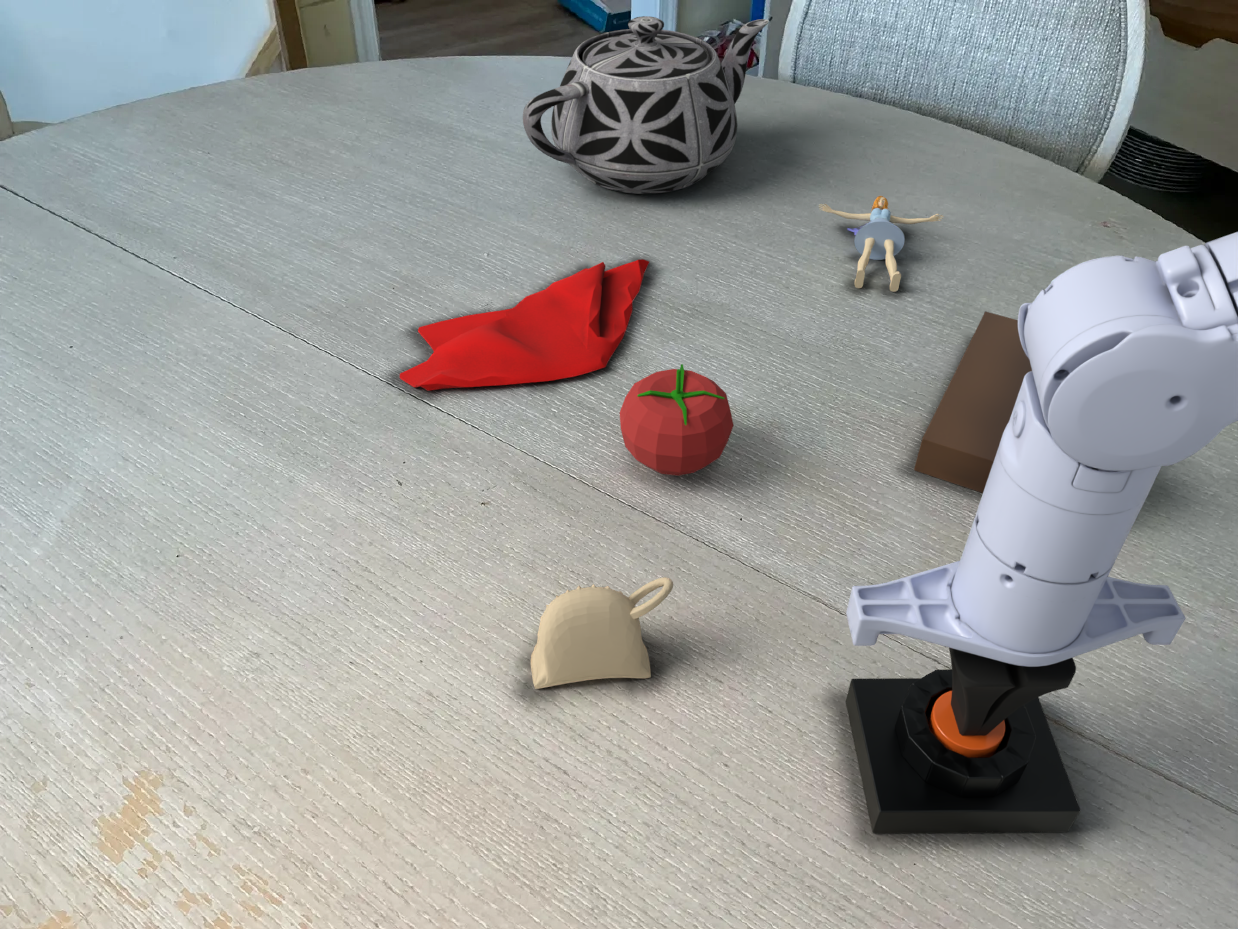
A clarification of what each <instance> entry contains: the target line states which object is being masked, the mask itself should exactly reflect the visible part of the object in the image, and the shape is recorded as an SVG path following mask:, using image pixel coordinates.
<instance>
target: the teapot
mask: <svg viewBox="0 0 1238 929" xmlns="http://www.w3.org/2000/svg"><path fill="white" fill-rule="evenodd" d="M768 24H769V19H765V18H762V19H756V20H752V21H751V20H750V21H749V22H746V23H744V24H743V25H742V27H740V29H739V30H738V31H737V32H736V33H735V35H734V36H733V39H732V41H731V43H730V45H729V47H728V49H727V51H726V53H725V56H724V58H723V59H722V61H720V58H719V56H718V53H717V52H716V50H715V49H714V48H713V47H712V45H711V44H709V43H708V42H706V41H704V40H703V39H700V38H699V37H697V36H695V35H692V34H688V33H684V32H680V31H674V30H669V29H664V27H665V22H664V21H663V20H662V19H660V18H659V17H656V16H648V15H647V16H646V15H643V16H636V17H634V18H631V19H630V20H629V21H628V23H627V26H628V28H629V29H628V28H627V29H620V30H613V31H609V32H603V33H600V34H598V35H594V36H592V37H590V38H588V39H586V40H584V41H583V42H581V44H579V45H578V46H577V48H575V50H574V52H573V54H572V56H571V59H570V61H569V63H568V66H567V68H566V70H565V71H564V74H563V77H562V79H561V82H560V83H559V86H558V87H555V88H553V89H549V90H547V91H545V92H543V93H540V94H538V95H536V96H534V97H533V98H531V99H530V100H529V101H528V102H527V104H525V106H524V108H523V112H522V124H523V129H524V131H525V134H526V136H527V138H528V139H529V141H530V142H531V144H532V145H533V146H534V147H535V148H536V149H537V150H538V151H539V152H541V153H542V154H544V155H546V156H548V157H550V158H552V159H554V160H555V161H559V162H561V163H564V164H569V166H570V167H572V168H573V169H574V170H575V171H576V172H578V173H579V174H581V176H582V177H584V178H585V180H588V181H589V182H591V183H592V184H594V185H596V186H599V187H602V188H604V189H606V190H607V189H608V190H611V191H615V192H620V193H626V194H637V195H651V194H652V195H653V194H662V193H663V194H664V193H669V192H674V191H678V190H682V189H685V188H687V187H690V186H693V185H694V184H696V183H698V182H699V181H701V180H702V179H704V178H705V177H706V176H707V175H709V174H710V173H712V172H714V170H716V169H717V168H718V167H719V166H720V165H722V163H723V162H724V161H725V160H726V159H727V157H728V156H729V155H730V154H731V152H732V150H733V148H734V146H735V143H736V140H737V136H738V135H737V134H738V119H737V118H738V117H737V110H736V105H735V104H736V103H737V102H738V100H739V99H740V96H741V93H742V91H743V88H744V84H745V79H746V73H747V68H748V61H749V55H750V52H751V49H752V46H753V43H754V42H755V39H756V37H757V36H758V34H759V33H760V32H761V31H762V30H763V29H764V28H765V27H766V26H767V25H768ZM551 108H552V113H551V121H550V122H551V123H550V126H551V127H550V130H551V132H550V133H551V137H552V141H553V143H552V142H551V141H550V140H549V139H548V137H547V136H546V134H545V132H544V128H543V126H542V116H543V115H544V114H545V112H547V111H548V110H550V109H551Z"/></svg>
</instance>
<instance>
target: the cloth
mask: <svg viewBox="0 0 1238 929" xmlns="http://www.w3.org/2000/svg"><path fill="white" fill-rule="evenodd" d="M649 264H650V261H649V260H648V259H647V260H646V259H644V258H641V259H640V258H639V259H637V260H634V261H631V262H628V263H624V264H621V265H619V266H618V265H617V266H616V267H613V268H610V269H607V270H606V264H605V262H604V261H602V262H600V263H597V264H595V265H593V266H591V267H589V268H583V269H581V270H580V271H577V272H576V273H574V274H572V275H570V276H567V277H563V278H562V279H559V280H556V281H554V282H552V283H551V284H550V285H549V286H547V287H546V288H544V289H543V290H539V291H537V292H534V293H532V294H529V295H526V296H525V297H524V298H523V299H521V300H520V301H519V302H518V303H517V304H516V305H515V306H514V307H511V308H507V309H501V310H495V311H487V312H480V313H475V314H474V313H473V314H468V315H467V314H466V315H464V316H459V317H458V316H457V317H454V318H449V319H445V320H441V321H437V322H433V323H430V324H426V325H422V326H419V327H418V329H417V332H418V333H419V335H420V336H421V337H422V338H423V339H424V341H426V343H427V344H428V345H429V347H430V348H431V349H432V351H433V353H432V354H431V355H430V356H429V357H428V359H427V360H426V361H423V362H421V363H419V364H416V365H415V366H413V367H410V368H408V369H407V370H405V371H403V372H400V373H399V379H400V380H401V381H403V382H404V383H406V384H408V385H409V386H410V387H413V388H419V387H420V388H422V389H424V390H426V391H427V392H429V391H436V390H443V389H455V388H456V389H457V388H461V389H462V388H474V387H476V388H477V387H490V386H491V387H492V386H507V385H509V386H510V385H518V384H519V385H520V384H529V383H540V382H541V383H542V382H549V381H556V380H562V379H567V378H573V377H577V376H582V375H584V374H588V373H592V372H594V371H597V370H602V369H604V368H606V367H607V365H608V363H609V361H610V359H611V357H613V354H614V353H615V351H616V350H617V348H618V347H619V345H620V343H621V342H622V340H623V339H624V336H625V334H626V331H627V329H628V325H629V322H630V319H631V316H632V313H633V301H634V300H635V298H636V297H637V296H638V294H639V292H641V291H640V290H641V287H642V283H643V279H644V276H645V272H646V270H647V268H648V266H649Z"/></svg>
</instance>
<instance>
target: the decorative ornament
mask: <svg viewBox="0 0 1238 929" xmlns="http://www.w3.org/2000/svg"><path fill="white" fill-rule="evenodd" d="M659 588H661V589H660V590H659V592H658V593H656V594H655V595H654V596H653V597H652V598H650V599H649V600H647V601H646V602H644V603H643V604H640V605H638V606H636V605H637V604H638V603H639V602H640V601H641V600H642V599H643V598H645V597H646V596H648V595H649V594H650V593H652V592H653V591H656V590H657V589H659ZM673 588H674V581H673V580H672V579H671V578H670V577H666V576H665V577H659V578H656V579H653V580H651V581H649V582H647V583H645V584H644V585H642V586H640V587H639V588H638V589H637V590H635V591H634V592H632V593H631V594H630V595H629V596H627V595H625V594H624V593H623V592H622V590H619V591H617V590H615V589H613V588H611V587H610V586H609V585H607V586H605V587H603V586H596V585H595V584H592V585H590V586H586V587H582V586H580V585H578V586H577V587H576V588H575V589H572V590H571V589H570V590H569V589H566V591H565V592H563V593H561V594H559V595H557V594H556V595H555V598H554V599H552V600H551V601H550V602H549V604H546V605H545V606H546V608H545V609H544V611H543V613H542V614H541V616H540V618H539V619H540V621H539V626H538V631H537V634H536V635H537V641H536V644H535V645H534V648H533V651H532V652H531V655H530V671H531V677H532V683H533V686H534V689H535V690H538V689H543V688H545V689H546V688H548V687H554V686H555V687H556V686H561V685H565V684H572V683H578V682H584V681H591V680H592V681H593V680H600V679H601V680H603V679H650V678H651V677H652V675H651V674H652V673H651V663H650V657H649V652H648V649H647V646H646V645H645V643H644V641H643V638H642V626H641V620H640V618H641V617H643V616H645V615H647V614H648V613H650V612H651V611H653V610H654V609H656V608H657V607H658V606H659V605H660V604H661V603H663V601H664V600H666V599H667V598H668V596H669V595H670V593H671V592H672V590H673Z"/></svg>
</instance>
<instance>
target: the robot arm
mask: <svg viewBox="0 0 1238 929" xmlns="http://www.w3.org/2000/svg"><path fill="white" fill-rule="evenodd" d="M1017 320H1018V332H1019V337H1020V341H1021V344H1022V347H1023V350H1024V352H1025V353H1026V355H1027V357H1028V358H1029V360H1030V364H1031V368H1032V371H1030V372H1028V373H1027V374H1026V375H1025V376H1024V379H1023V382H1022V385H1021V388H1020V391H1019V394H1018V397H1017V400H1016V403H1015V406H1014V409H1013V411H1012V414H1011V417H1010V420H1009V422H1008V424H1007V426H1006V428H1005V430H1004V432H1003V435H1002V438H1001V441H1000V444H999V447H998V450H997V453H996V456H995V459H994V462H993V465H992V468H991V471H990V474H989V477H988V480H987V483H986V486H985V489H984V491H983V493H981V494H982V495H981V498H980V501H979V503H978V506H977V509H976V513H975V515H974V518H973V522H972V524H971V526H970V531H969V533H968V536H967V539H966V541H965V545H964V547H963V551H962V554H961V557H960V560H956V561H953V562H951V563H947V564H944V565H940V566H937V567H934V568H930V569H927V570H924V571H920V572H917V573H913V574H911V575H907V576H904V577H901V578H898V579H894V580H891V581H887V582H883V583H876V584H869V585H868V584H867V585H853V586H851V591H850V595H849V599H848V603H847V606H846V612H845V614H846V618H847V623H848V624H847V625H848V628H849V633H850V636H851V641H852V645H853V646H858V647H860V646H861V647H864V646H865V647H867V646H869V647H871V646H875V645H876V644H877V641H878V638H879V636H880V635H901V636H905V637H908V638H912V639H915V640H919V641H923V642H927V643H931V644H934V645H937V646H941V647H945V648H948V650H949V656H950V663H951V669H952V697H951V707H952V710H953V713H954V717H955V720H956V723H957V727H958V730H959V734H961V735H962V736H986V735H987V734H988V733H990V732H991V731H992V730H993V729H994V728H995V727H996V726H998V725H999V724H1000V723H1001V722H1002V721H1003V720H1005V719H1006V718H1007V717H1008V716H1009V715H1011V714H1012V713H1013V712H1015V711H1016V710H1017V709H1019V708H1020V707H1021V706H1023V705H1025V704H1026V703H1028V702H1030V701H1031V700H1034V699H1036V698H1040V697H1042V696H1045V695H1048V694H1050V693H1053V692H1056V691H1060V690H1064V689H1068V688H1069V687H1070V685H1071V683H1072V681H1073V679H1074V677H1075V674H1076V673H1077V666H1076V663H1075V660H1074V658H1075V657H1079V656H1081V655H1083V654H1086V653H1090V652H1093V651H1095V650H1098V649H1101V648H1104V647H1107V646H1111V645H1113V644H1116V643H1118V642H1121V641H1124V640H1128V639H1130V638H1133V637H1136V636H1139V635H1142V637H1143V639H1144V641H1145V642H1146V643H1147V644H1149V645H1152V646H1153V645H1154V646H1155V645H1156V646H1157V645H1158V646H1161V645H1163V646H1167V645H1168V646H1169V645H1171V644H1172V642H1173V641H1174V640H1175V637H1176V635H1177V634H1178V633H1179V631H1180V629H1181V627H1182V625H1183V624H1184V622H1185V621H1186V616H1185V614H1184V612H1183V610H1182V609H1181V607H1180V605H1179V603H1178V601H1177V599H1176V597H1175V596H1174V593H1173V592H1172V590H1171V588H1170V587H1169V585H1167V584H1149V583H1148V584H1147V583H1140V582H1134V581H1129V580H1125V579H1120V578H1116V577H1112V576H1109V575H1110V573H1111V571H1112V569H1113V567H1114V565H1115V563H1116V560H1117V558H1118V556H1119V554H1120V553H1121V550H1122V548H1123V546H1124V544H1125V542H1126V540H1127V538H1128V536H1129V534H1130V533H1131V531H1132V528H1133V526H1134V524H1135V522H1136V520H1137V518H1138V516H1139V514H1140V512H1141V510H1142V508H1143V506H1144V504H1145V501H1146V500H1147V497H1148V495H1149V494H1150V491H1151V489H1152V488H1153V485H1154V483H1155V482H1156V479H1157V477H1158V474H1159V473H1160V471H1161V468H1162V467H1167V466H1173V465H1175V464H1178V463H1180V462H1182V461H1184V460H1186V459H1188V458H1190V457H1191V456H1193V455H1194V454H1196V453H1198V452H1199V451H1201V450H1202V449H1203V448H1204V447H1206V446H1207V445H1208V444H1210V443H1211V442H1212V441H1213V440H1214V439H1215V438H1216V437H1217V436H1218V435H1219V434H1220V433H1221V432H1222V431H1223V430H1224V429H1225V428H1226V427H1228V426H1230V425H1231V424H1234V423H1235V422H1238V231H1236V232H1233V233H1230V234H1227V235H1224V236H1222V237H1219V238H1216V239H1213V240H1210V241H1207V242H1205V243H1204V244H1199V245H1196V246H1193V247H1190V246H1189V245H1182V246H1180V247H1178V248H1175V249H1172V250H1169V251H1166V252H1163V253H1161V254H1160V255H1159V256H1158V257H1157V260H1152V259H1149V258H1146V257H1144V256H1136V255H1134V258H1132V257H1127V256H1124V255H1121V254H1120V255H1109V256H1101V257H1097V258H1092V259H1089V260H1086V261H1083V262H1080V263H1077V264H1075V265H1074V266H1071V267H1070V268H1068V269H1066V270H1065V271H1063V272H1062V273H1060V274H1058V275H1057V276H1056V277H1055V278H1053V279H1052V280H1051V281H1050V283H1049V284H1048V286H1046V288H1045V289H1044V288H1043V289H1041V290H1040V291H1039V293H1038V294H1037V295H1036V297H1035V298H1034V300H1033V301H1032V302H1024V303H1022V304H1021V305H1020V307H1019V310H1018V316H1017Z"/></svg>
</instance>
